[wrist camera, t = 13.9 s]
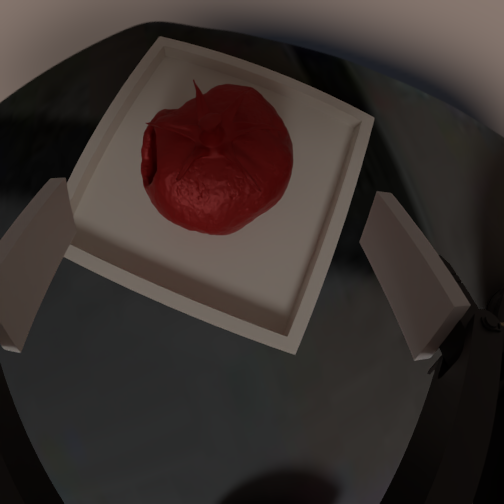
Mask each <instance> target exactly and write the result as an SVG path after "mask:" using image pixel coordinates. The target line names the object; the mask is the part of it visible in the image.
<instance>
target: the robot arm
mask: <svg viewBox="0 0 504 504" xmlns="http://www.w3.org/2000/svg"><path fill="white" fill-rule="evenodd" d="M76 232H77V230H76V226H75V222H74V217H73V213H72V208H71V204H70V199H69V194H68V189H67V183H66V178H50V180H49V181H48V182H47V183H46V184H45V185H44V186H43V187H42V189H41V190H40V191H39V192H38V193H37V194H36V196H35V197H34V198H33V199H32V200H31V202H30V203H29V204H28V205H27V206H26V208H25V209H24V210H23V211H22V213H21V214H20V215H19V216H18V218H17V219H16V220H15V221H14V223H13V224H12V225H11V227H10V228H9V229H8V231H7V232H6V233H5V235H4V236H3V237H2V239H1V240H0V344H1V346H2V347H3V348H4V350H9V351H13V352H18V353H21V351H22V348H23V346H24V343H25V340H26V338H27V335H28V333H29V330H30V328H31V325H32V323H33V320H34V318H35V316H36V313H37V311H38V309H39V306H40V304H41V302H42V300H43V298H44V295H45V293H46V291H47V289H48V287H49V285H50V283H51V280H52V278H53V276H54V274H55V272H56V270H57V268H58V266H59V264H60V262H61V260H62V258H63V257H64V255H65V253H66V251H67V249H68V247H69V245H70V243H71V242H72V240H73V238H74V236H75V234H76ZM360 244H361V246H362V248H363V250H364V252H365V254H366V256H367V258H368V260H369V262H370V264H371V266H372V268H373V270H374V272H375V274H376V276H377V278H378V280H379V282H380V284H381V286H382V289H383V291H384V293H385V295H386V297H387V299H388V301H389V304H390V306H391V308H392V310H393V312H394V315H395V317H396V319H397V321H398V324H399V326H400V328H401V330H402V333H403V335H404V337H405V340H406V342H407V344H408V347H409V349H410V352H411V354H412V357H413V359H414V361H415V360H421V359H427V358H431V357H432V356H433V354H434V353H435V352H436V351H437V349H438V348H440V350H441V352H442V356H441V357H440V358H439V359H438V360H437V361H436V363H435V364H434V365H433V366H432V367H431V368H430V370H429V371H428V374H431V372H432V371H433V370H435V372H434V375H433V379H432V382H431V385H430V388H429V391H428V394H427V397H426V400H425V403H424V406H423V409H422V411H421V414H420V417H419V420H418V422H417V425H416V427H415V430H414V432H413V435H412V437H411V440H410V442H409V445H408V447H407V449H406V451H405V454H404V456H403V458H402V460H401V463H400V465H399V467H398V469H397V471H396V473H395V475H394V477H393V479H392V481H391V483H390V485H389V487H388V489H387V491H386V493H385V495H384V497H383V499H382V501H381V502H380V504H472V503H473V504H504V326H502V325H501V323H500V321H499V320H498V318H497V317H496V316H495V315H494V314H492V313H491V312H490V311H487V310H485V309H478V307H477V305H476V304H475V302H474V300H473V299H472V297H471V296H470V294H469V292H468V291H467V289H466V288H465V286H464V285H463V283H461V280H460V279H459V277H458V276H457V275H456V273H455V271H454V270H453V268H452V267H451V265H450V264H449V263H448V262H447V261H446V260H445V259H444V258H443V257H441V256H440V255H438V254H437V253H436V251H435V250H434V248H433V247H432V246H431V244H430V243H429V241H428V240H427V239H426V237H425V236H424V234H423V233H422V232H421V230H420V229H419V228H418V226H417V225H416V224H415V222H414V221H413V220H412V219H411V217H410V216H409V215H408V213H407V212H406V211H405V210H404V208H403V207H402V206H401V204H400V203H399V202H398V201H397V199H396V198H395V197H394V196H393V195H392V193H386V192H378V191H377V192H376V195H375V198H374V201H373V204H372V207H371V210H370V213H369V216H368V219H367V222H366V225H365V228H364V231H363V234H362V236H361V239H360ZM0 504H64V502H63V501H62V499H61V497H60V496H59V494H58V492H57V491H56V489H55V487H54V486H53V484H52V482H51V480H50V479H49V477H48V475H47V473H46V472H45V470H44V468H43V466H42V464H41V462H40V460H39V458H38V456H37V454H36V452H35V450H34V448H33V446H32V444H31V442H30V440H29V438H28V435H27V433H26V431H25V429H24V426H23V424H22V422H21V419H20V417H19V414H18V412H17V410H16V407H15V404H14V402H13V399H12V396H11V394H10V391H9V388H8V385H7V382H6V379H5V376H4V373H3V370H2V367H1V364H0Z"/></svg>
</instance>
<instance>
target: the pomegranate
mask: <svg viewBox="0 0 504 504" xmlns="http://www.w3.org/2000/svg"><path fill="white" fill-rule="evenodd" d="M193 83H194V86H195V89H196V98H193V99H191V100H189V101H187V102H186V103H185V104H184V105H183V106H181V107H180V108H179V109H163V110H161V111H159V112H158V113H157V114H156V115H155V116H154V118H153V119H152V120H151V122H149V123H146V124H147V125H148V126H147V128H146V130H145V131H144V135H143V145H142V148H141V157H142V162H141V175H142V178H143V186H144V188H145V191H146V193H147V195H148V196H149V198H150V200H151V203H152V204H153V205H154V207H155V208H156V209H157V210H158V212H159V213H160V214H161V215H162V216H163V217H164V218H166V219H167V220H169V221H171V222H172V223H174V224H176V225H178V226H181V227H183V228H185V229H187V230H189V231H197V232H200V233H203V234H206V233H207V234H209V235H229V234H231V233H235V232H237V231H238V230H240V229H241V228H243V227H244V226H246V225H247V224H249V223H250V222H252V221H253V220H254V219H255V218H257V217H258V216H260V215H261V214H263V213H265V212H267V211H268V210H270V209H271V208H272V207H273V206H275V205H276V204H277V203H278V201H279V200H280V199H281V198H282V196H283V195H284V193H285V191H286V189H287V187H288V184H289V181H290V178H291V175H292V168H293V144H292V141H291V138H290V135H289V132H288V130H287V128H286V126H285V124H284V122H283V120H282V118H281V117H280V116H279V115H278V113H277V111H276V110H275V108H274V107H273V106H272V105H271V104H270V103H269V102H268V101H267V100H266V99H265V98H264V97H263V96H262V94H260V93H259V92H258V91H257V90H255V89H254V88H252V87H248V86H241V85H235V84H223V85H218V86H215V87H214V88H212V89H210V90H209V91H208V92H206V93H205V94H202V92H201V90H200V89H199V87H198V86H197V85H196V83H195V80H194V79H193Z"/></svg>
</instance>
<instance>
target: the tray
mask: <svg viewBox="0 0 504 504" xmlns="http://www.w3.org/2000/svg"><path fill="white" fill-rule="evenodd" d="M193 79H194V80H195V83H196V85H197V86H198V87H199V89H200V90H201V92H202V94H205V93H206V92H208V91H209V90H210V89H212V88H214V87H215V86H218V85H223V84H235V85H241V86H248V87H252V88H254V89H255V90H257V91H258V92H259V93H260V94H262V96H263V97H264V98H265V99H266V100H267V101H268V102H269V103H270V104H271V105H272V106H273V107H274V108H275V110H276V111H277V113H278V115H279V116H280V117H281V118H282V120H283V122H284V124H285V126H286V128H287V130H288V132H289V135H290V138H291V141H292V144H293V168H292V175H291V178H290V181H289V184H288V187H287V189H286V191H285V193H284V195H283V196H282V198H281V199H280V200H279V201H278V203H277V204H276V205H275V206H273V207H272V208H271V209H270V210H268V211H267V212H265V213H263V214H261V215H260V216H258V217H257V218H255V219H254V220H253V221H252V222H250V223H249V224H247V225H246V226H244V227H243V228H241V229H240V230H238V231H237V232H235V233H231V234H229V235H209V234H207V233H206V234H203V233H200V232H197V231H189V230H187V229H185V228H183V227H181V226H178V225H176V224H174V223H172V222H171V221H169V220H167V219H166V218H164V217H163V216H162V215H161V214H160V213H159V212H158V210H157V209H156V208H155V207H154V205H153V204H152V203H151V200H150V198H149V196H148V195H147V193H146V191H145V188H144V186H143V178H142V175H141V162H142V157H141V148H142V145H143V135H144V131H145V130H146V128H147V126H148V125H147V124H146V123H149V122H151V120H152V119H153V118H154V116H155V115H156V114H157V113H158V112H159V111H161V110H163V109H179V108H180V107H181V106H183V105H184V104H185V103H186V102H187V101H189V100H191V99H193V98H196V89H195V86H194V83H193ZM373 122H374V117H372V116H370V115H368V114H367V113H365V112H363V111H361V110H359V109H357V108H355V107H353V106H351V105H349V104H347V103H345V102H343V101H341V100H339V99H337V98H335V97H333V96H331V95H329V94H326V93H324V92H322V91H320V90H318V89H316V88H313V87H311V86H309V85H307V84H304V83H302V82H300V81H297V80H295V79H292V78H290V77H288V76H285V75H283V74H280V73H278V72H275V71H272V70H270V69H267V68H265V67H262V66H259V65H256V64H254V63H251V62H248V61H245V60H242V59H239V58H236V57H233V56H230V55H227V54H224V53H221V52H217V51H214V50H211V49H207V48H204V47H200V46H197V45H193V44H189V43H186V42H182V41H178V40H174V39H169V38H165V37H161V36H160V37H159V38H158V39H157V40H156V42H155V43H154V44H153V45H152V47H151V48H150V49H149V51H148V52H147V53H146V54H145V56H144V57H143V58H142V60H141V61H140V63H139V64H138V65H137V67H136V68H135V69H134V71H133V72H132V74H131V75H130V76H129V78H128V79H127V81H126V82H125V84H124V85H123V87H122V88H121V90H120V91H119V93H118V94H117V96H116V97H115V99H114V100H113V102H112V103H111V105H110V106H109V108H108V110H107V111H106V113H105V114H104V116H103V118H102V119H101V121H100V123H99V124H98V126H97V128H96V130H95V131H94V133H93V135H92V136H91V138H90V140H89V142H88V144H87V145H86V147H85V149H84V151H83V153H82V155H81V156H80V158H79V160H78V162H77V164H76V166H75V168H74V170H73V172H72V174H71V176H70V178H69V180H68V182H67V189H68V194H69V199H70V204H71V208H72V213H73V217H74V222H75V226H76V230H77V232H76V234H75V236H74V238H73V240H72V242H71V243H70V245H69V247H68V249H67V251H66V253H65V255H64V257H65V258H67V259H69V260H71V261H73V262H75V263H77V264H79V265H81V266H83V267H85V268H87V269H89V270H91V271H93V272H95V273H97V274H99V275H101V276H103V277H106V278H108V279H110V280H112V281H114V282H116V283H118V284H120V285H122V286H125V287H127V288H129V289H131V290H133V291H135V292H138V293H140V294H142V295H144V296H147V297H149V298H151V299H153V300H156V301H158V302H160V303H162V304H165V305H167V306H169V307H172V308H174V309H176V310H179V311H181V312H183V313H186V314H188V315H191V316H193V317H196V318H198V319H200V320H203V321H205V322H208V323H210V324H213V325H215V326H218V327H220V328H223V329H226V330H228V331H231V332H233V333H236V334H239V335H241V336H244V337H246V338H249V339H252V340H255V341H257V342H260V343H263V344H266V345H268V346H271V347H274V348H277V349H280V350H282V351H285V352H288V353H291V354H294V355H295V354H296V352H297V349H298V347H299V344H300V342H301V339H302V337H303V335H304V332H305V329H306V327H307V324H308V322H309V319H310V317H311V314H312V312H313V309H314V306H315V304H316V301H317V298H318V296H319V293H320V290H321V288H322V285H323V282H324V279H325V277H326V274H327V271H328V268H329V265H330V263H331V260H332V257H333V254H334V251H335V248H336V245H337V242H338V239H339V236H340V233H341V230H342V227H343V224H344V221H345V218H346V215H347V212H348V209H349V206H350V202H351V199H352V196H353V193H354V189H355V186H356V183H357V179H358V176H359V173H360V169H361V166H362V162H363V159H364V155H365V152H366V148H367V145H368V141H369V137H370V134H371V130H372V126H373Z"/></svg>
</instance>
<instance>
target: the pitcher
mask: <svg viewBox="0 0 504 504" xmlns="http://www.w3.org/2000/svg"><path fill="white" fill-rule="evenodd" d="M487 311H490V312H491V313H492V314H494V315H495V316H496V317H497V318H498V320H499V321H500V323H501V325H502V326H504V289H502V290H500V291H498V292H497V293H496V294H495V295H494V296H493V297H492V299H491V301H490V303H489V305H488V307H487Z"/></svg>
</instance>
